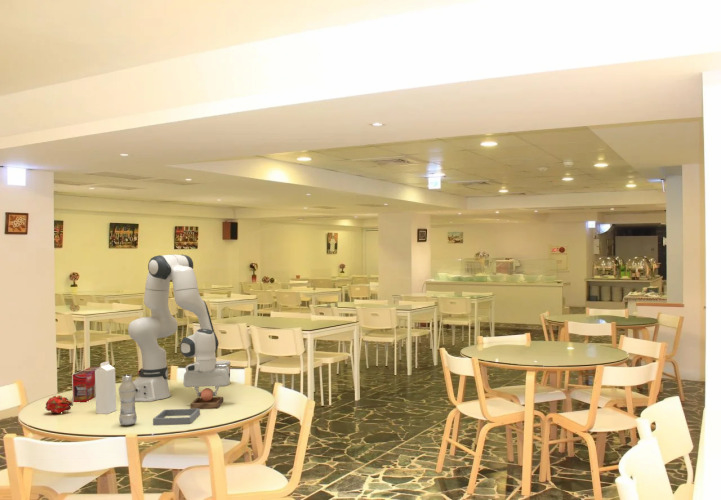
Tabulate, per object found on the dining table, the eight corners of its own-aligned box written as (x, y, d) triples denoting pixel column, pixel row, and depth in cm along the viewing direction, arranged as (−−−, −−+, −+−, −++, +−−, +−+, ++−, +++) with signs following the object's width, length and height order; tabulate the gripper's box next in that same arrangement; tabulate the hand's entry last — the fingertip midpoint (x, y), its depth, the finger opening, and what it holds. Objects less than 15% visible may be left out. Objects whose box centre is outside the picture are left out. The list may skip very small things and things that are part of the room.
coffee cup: (229, 386, 324) (228, 363, 324) (210, 387, 324) (210, 363, 324) (232, 382, 333) (232, 360, 334) (215, 383, 334) (214, 360, 334)
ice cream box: (90, 393, 318) (89, 367, 319) (103, 393, 319) (102, 366, 319) (72, 402, 298) (72, 374, 299) (86, 402, 299) (85, 374, 299)
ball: (199, 402, 281) (199, 389, 281) (202, 399, 287) (202, 387, 287) (212, 401, 281) (211, 389, 281) (214, 399, 287) (214, 386, 287)
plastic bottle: (122, 423, 258) (120, 374, 258) (139, 422, 258) (137, 373, 258) (117, 427, 251) (115, 377, 251) (134, 426, 252) (133, 376, 252)
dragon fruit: (45, 416, 279) (71, 420, 279) (37, 409, 273) (64, 412, 272) (53, 398, 284) (78, 402, 284) (46, 390, 278) (72, 394, 277)
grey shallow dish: (153, 425, 253) (152, 418, 253) (164, 415, 268) (164, 409, 268) (190, 423, 253) (190, 417, 253) (199, 414, 268) (199, 408, 268)
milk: (96, 413, 275) (94, 363, 276) (104, 410, 281) (102, 360, 281) (108, 414, 274) (106, 363, 274) (116, 410, 280) (114, 360, 280)
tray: (190, 409, 278) (190, 403, 278) (197, 402, 290) (197, 397, 290) (217, 408, 278) (217, 403, 278) (223, 402, 290) (223, 396, 290)
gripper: (230, 363, 287) (231, 393, 287) (185, 364, 287) (186, 395, 287) (227, 365, 281) (228, 396, 281) (181, 367, 281) (182, 398, 281)
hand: (207, 396), depth 284 cm, fingers closed on ball, 6 cm apart
